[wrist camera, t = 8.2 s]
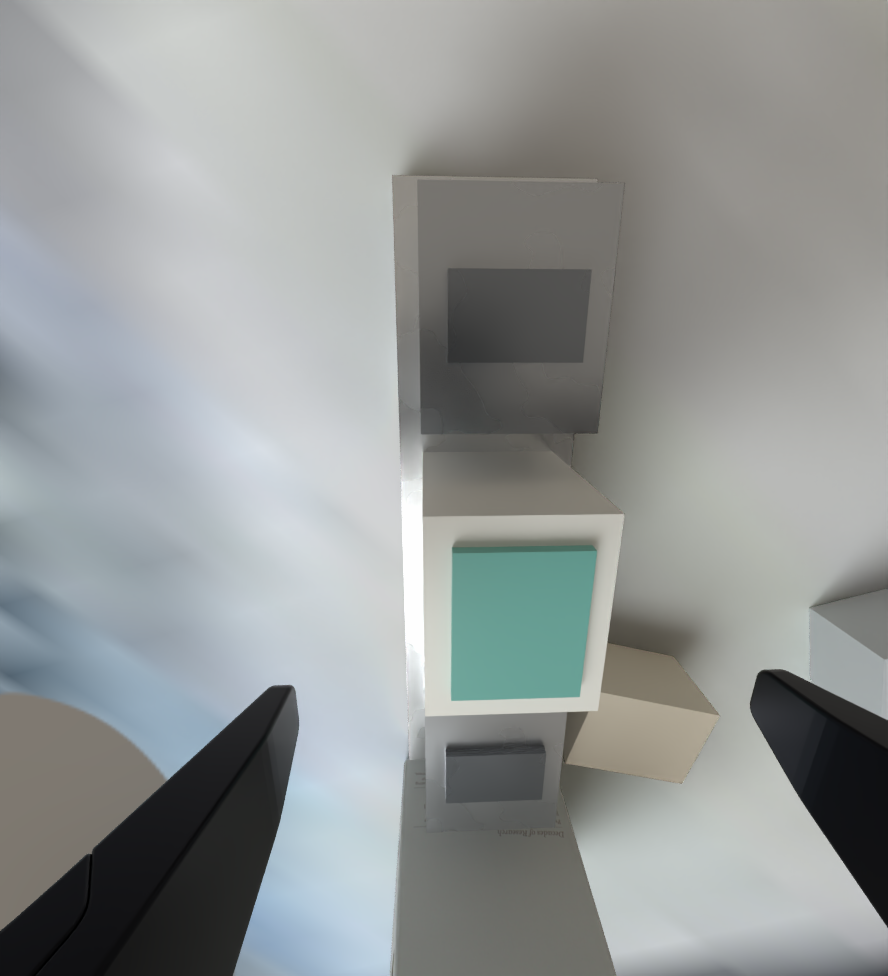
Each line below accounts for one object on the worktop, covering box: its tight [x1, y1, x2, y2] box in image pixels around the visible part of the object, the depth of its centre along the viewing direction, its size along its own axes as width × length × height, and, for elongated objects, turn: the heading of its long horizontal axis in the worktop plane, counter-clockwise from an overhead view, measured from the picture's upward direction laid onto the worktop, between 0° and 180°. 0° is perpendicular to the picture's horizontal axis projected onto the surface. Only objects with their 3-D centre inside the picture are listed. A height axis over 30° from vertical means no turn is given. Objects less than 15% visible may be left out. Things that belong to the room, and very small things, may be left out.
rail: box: [392, 175, 625, 833], centre depth 15 cm, size 6×22×6 cm, turn 0°
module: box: [422, 451, 625, 716], centre depth 14 cm, size 4×6×6 cm
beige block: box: [563, 643, 720, 784], centre depth 19 cm, size 5×4×4 cm
